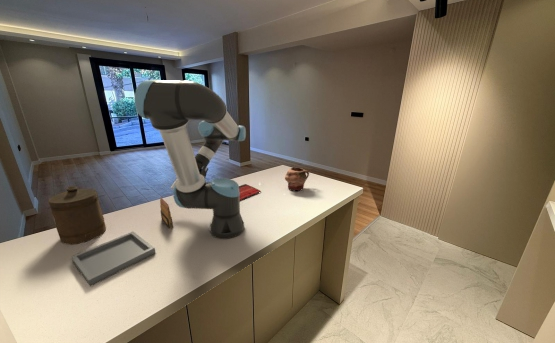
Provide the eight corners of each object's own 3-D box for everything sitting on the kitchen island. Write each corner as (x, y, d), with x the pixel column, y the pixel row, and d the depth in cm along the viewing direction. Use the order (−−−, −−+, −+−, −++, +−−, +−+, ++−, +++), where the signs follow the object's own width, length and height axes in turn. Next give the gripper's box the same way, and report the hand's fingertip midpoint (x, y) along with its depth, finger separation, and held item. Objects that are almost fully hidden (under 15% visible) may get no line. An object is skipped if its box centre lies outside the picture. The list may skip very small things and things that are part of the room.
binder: (220, 191, 137) (245, 183, 152) (220, 195, 138) (245, 186, 153) (237, 200, 127) (262, 190, 143) (237, 204, 128) (262, 193, 144)
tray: (155, 253, 84) (154, 247, 83) (90, 286, 68) (88, 280, 68) (134, 236, 94) (133, 231, 93) (72, 262, 78) (70, 256, 77)
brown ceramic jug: (300, 182, 162) (302, 164, 158) (313, 187, 153) (315, 168, 149) (280, 188, 150) (280, 169, 145) (292, 194, 141) (293, 173, 137)
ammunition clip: (161, 219, 107) (158, 197, 104) (165, 218, 108) (162, 196, 105) (169, 228, 100) (165, 205, 96) (173, 227, 101) (170, 203, 97)
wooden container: (82, 224, 101) (70, 179, 95) (114, 225, 101) (104, 180, 95) (49, 244, 87) (32, 192, 81) (86, 245, 87) (72, 194, 80)
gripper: (224, 165, 110) (201, 202, 103) (194, 157, 124) (172, 189, 117) (215, 156, 105) (190, 196, 98) (185, 149, 118) (161, 183, 111)
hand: (180, 192), depth 107 cm, fingers open, 13 cm apart
